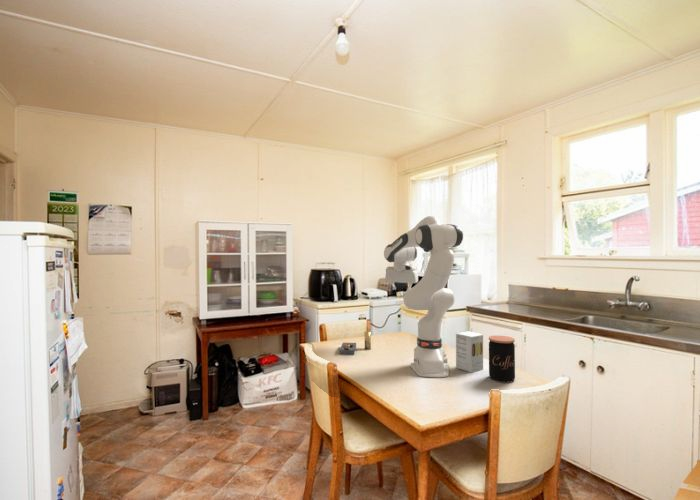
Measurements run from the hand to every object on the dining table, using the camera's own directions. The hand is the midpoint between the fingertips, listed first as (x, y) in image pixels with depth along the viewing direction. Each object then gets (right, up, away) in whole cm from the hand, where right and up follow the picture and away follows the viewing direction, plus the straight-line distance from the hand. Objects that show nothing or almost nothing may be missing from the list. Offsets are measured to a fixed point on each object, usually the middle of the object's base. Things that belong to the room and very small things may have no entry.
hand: (401, 290), depth 208 cm
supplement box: (+28, -34, -37) cm, 57 cm away
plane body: (-31, -34, -5) cm, 47 cm away
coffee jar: (+37, -34, -51) cm, 72 cm away
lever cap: (-20, -34, -2) cm, 40 cm away
